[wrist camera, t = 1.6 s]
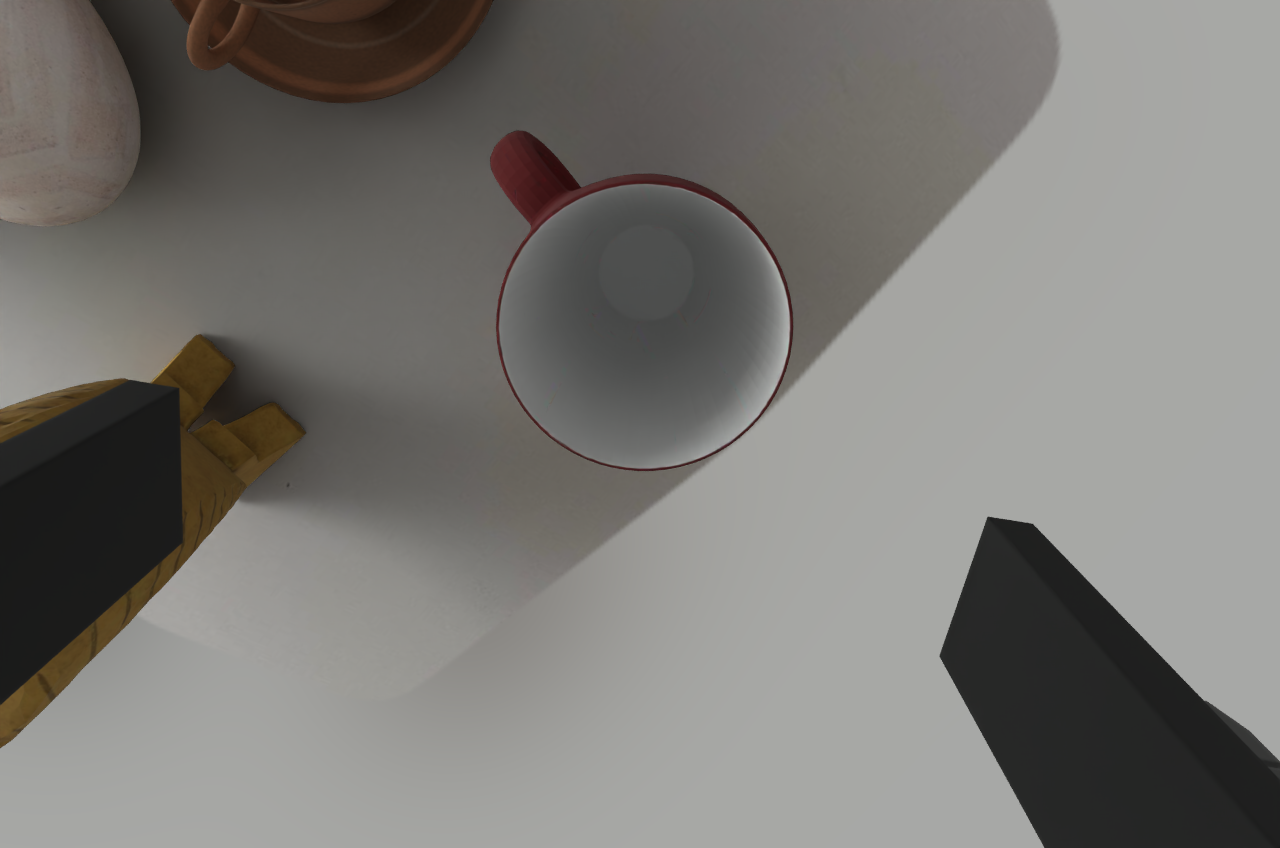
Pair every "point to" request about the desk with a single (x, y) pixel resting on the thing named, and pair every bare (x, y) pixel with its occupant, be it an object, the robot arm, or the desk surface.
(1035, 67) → the desk surface
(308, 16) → the cup and saucer
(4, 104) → the decorative stone
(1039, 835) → the robot arm
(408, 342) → the desk surface
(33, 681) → the figurine
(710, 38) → the desk surface
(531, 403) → the mug
